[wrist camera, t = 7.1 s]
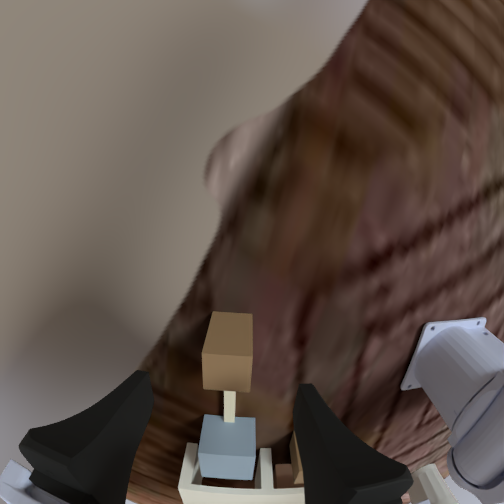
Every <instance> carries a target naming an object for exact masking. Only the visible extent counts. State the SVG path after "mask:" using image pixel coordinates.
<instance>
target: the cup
mask: <svg viewBox="0 0 504 504" xmlns="http://www.w3.org/2000/svg"><path fill="white" fill-rule="evenodd" d="M411 475H412V478H413V480H414V482H413V485H412V486H411V487H410V489H409V490H408V492H409V496H410V499H411V503H412V504H416V503H418V502H421V501H424V500H426V499H429V501H430V503H431V504H459V502H458V501H457V499H456V498H455V496H454V495H453V494H452V492H451V490H450V489H449V487H448V486H447V484H446V482H445V481H444V479H443V478H442V476H441V474H440V473H439V471H438V470H437V467H436V465H435V464H429V465H426V466H424V467H422V468H420V469H418V470H416V471H415V472H413V473H412V474H411Z"/></svg>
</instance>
